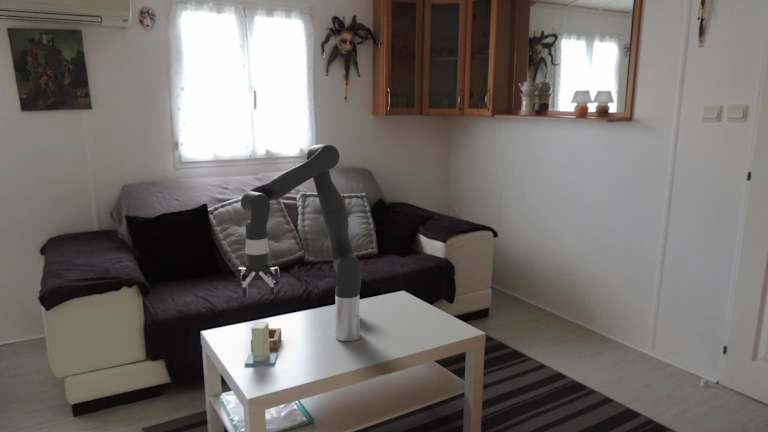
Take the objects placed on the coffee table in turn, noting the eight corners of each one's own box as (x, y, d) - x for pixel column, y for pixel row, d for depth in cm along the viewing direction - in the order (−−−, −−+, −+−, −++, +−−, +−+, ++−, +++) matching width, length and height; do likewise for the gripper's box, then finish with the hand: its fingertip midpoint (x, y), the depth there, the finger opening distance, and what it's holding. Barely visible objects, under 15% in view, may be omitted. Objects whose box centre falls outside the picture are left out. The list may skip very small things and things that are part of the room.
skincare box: (264, 362, 193) (263, 328, 191) (252, 361, 193) (250, 328, 191) (270, 354, 199) (269, 322, 197) (257, 353, 200) (256, 321, 197)
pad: (277, 355, 200) (277, 353, 200) (274, 365, 193) (274, 363, 192) (248, 356, 200) (248, 353, 200) (244, 366, 192) (244, 363, 192)
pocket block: (281, 339, 215) (281, 328, 214) (277, 351, 204) (277, 340, 203) (256, 339, 214) (256, 328, 214) (251, 352, 203) (250, 340, 202)
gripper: (279, 248, 193) (281, 293, 196) (238, 248, 192) (240, 293, 195) (277, 253, 186) (278, 300, 189) (233, 254, 185) (235, 300, 188)
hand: (259, 296), depth 192 cm, fingers open, 8 cm apart
